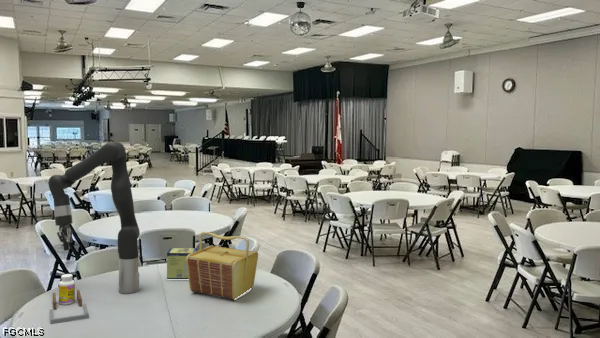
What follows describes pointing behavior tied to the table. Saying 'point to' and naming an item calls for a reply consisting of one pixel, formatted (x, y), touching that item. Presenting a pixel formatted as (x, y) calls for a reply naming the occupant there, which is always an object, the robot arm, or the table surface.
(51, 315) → the grey flat square frame
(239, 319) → the table surface
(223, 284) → the picnic basket
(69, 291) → the supplement bottle
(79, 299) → the walnut dock
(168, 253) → the protein box
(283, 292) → the table surface
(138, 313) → the table surface
